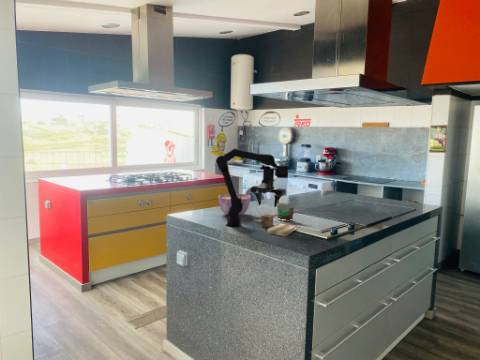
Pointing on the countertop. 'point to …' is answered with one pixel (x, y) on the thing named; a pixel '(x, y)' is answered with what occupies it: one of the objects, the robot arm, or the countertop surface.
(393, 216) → the countertop surface
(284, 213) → the food container
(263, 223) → the walnut block
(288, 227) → the oak base
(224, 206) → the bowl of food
